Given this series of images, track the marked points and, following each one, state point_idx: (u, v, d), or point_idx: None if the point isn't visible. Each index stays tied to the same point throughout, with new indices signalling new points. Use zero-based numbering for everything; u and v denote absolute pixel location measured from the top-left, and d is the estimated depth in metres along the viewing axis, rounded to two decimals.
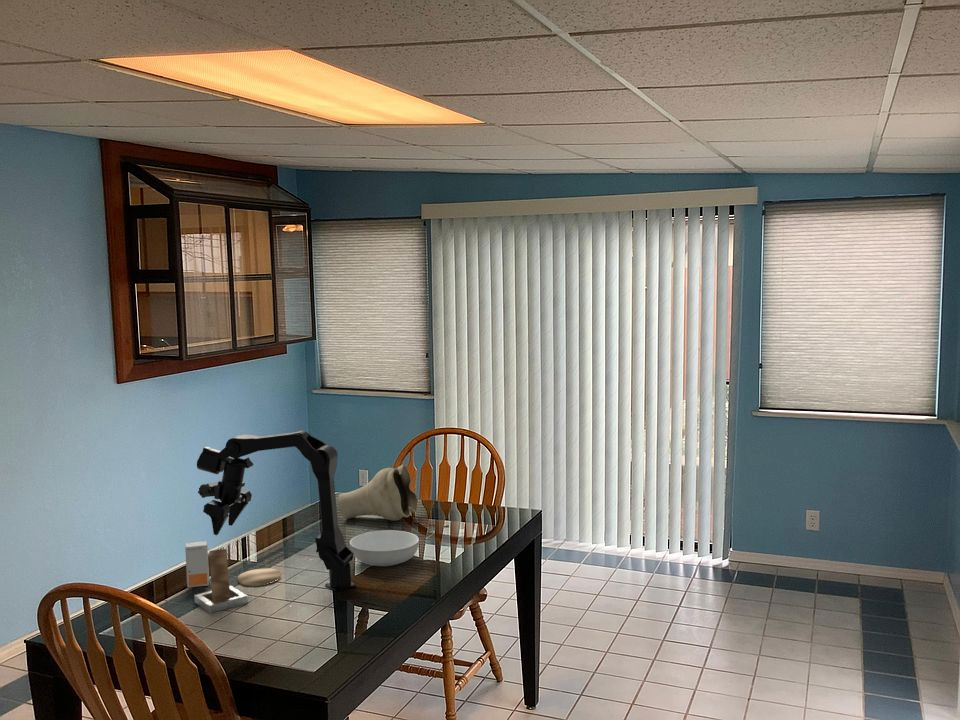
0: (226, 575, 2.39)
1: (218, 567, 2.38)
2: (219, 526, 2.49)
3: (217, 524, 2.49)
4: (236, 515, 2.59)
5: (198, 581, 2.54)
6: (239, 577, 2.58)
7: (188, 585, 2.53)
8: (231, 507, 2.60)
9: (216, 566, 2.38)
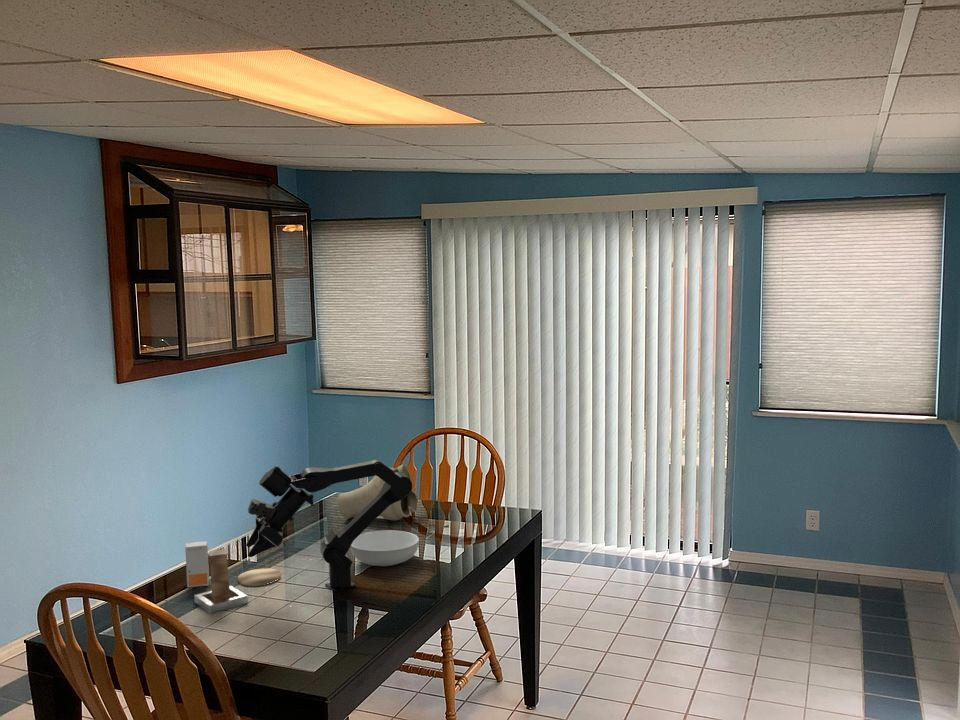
0: (226, 575, 2.39)
1: (218, 567, 2.38)
2: (260, 550, 2.38)
3: (260, 548, 2.37)
4: None
5: (198, 581, 2.54)
6: (239, 577, 2.58)
7: (188, 585, 2.53)
8: (258, 529, 2.47)
9: (216, 566, 2.38)
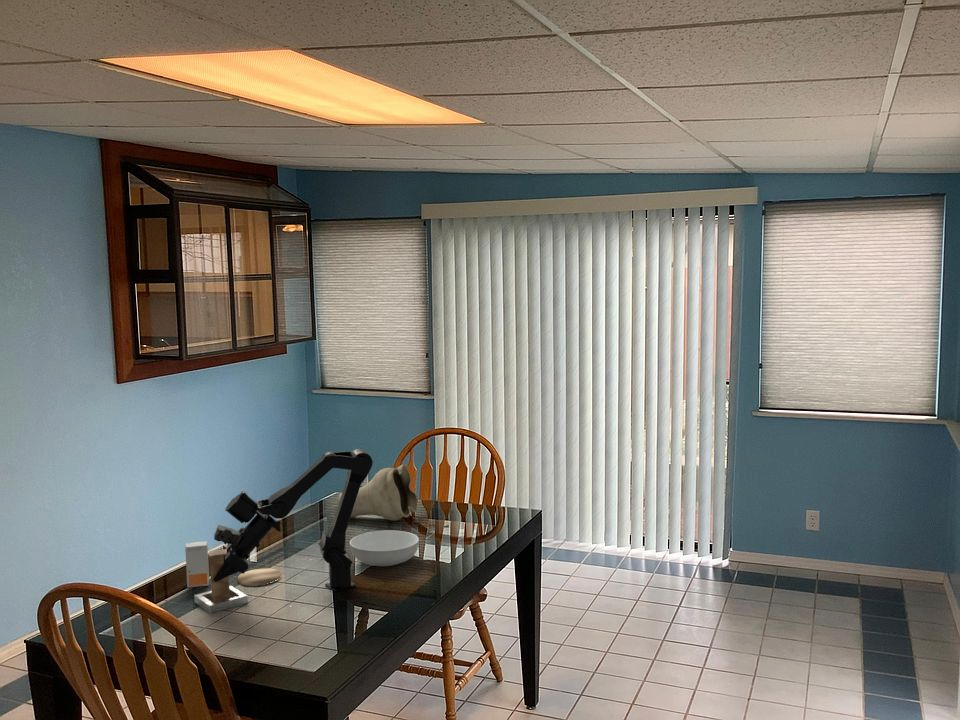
0: None
1: (218, 567, 2.38)
2: (226, 575, 2.38)
3: (225, 572, 2.37)
4: None
5: (198, 581, 2.54)
6: (239, 577, 2.58)
7: (188, 585, 2.53)
8: None
9: (216, 566, 2.38)
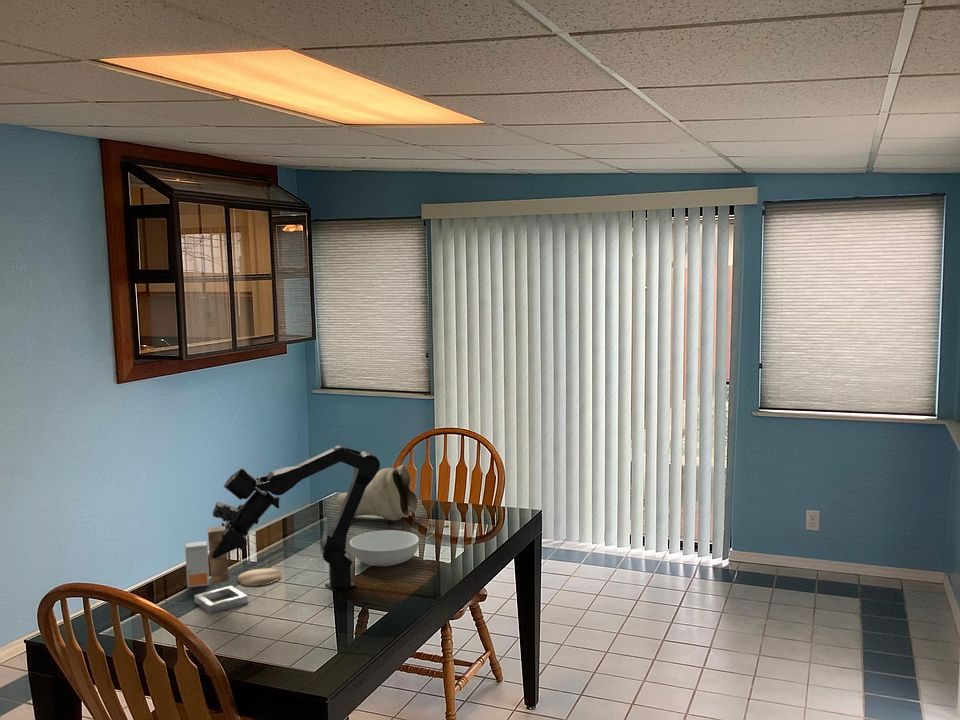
0: None
1: (217, 544, 2.38)
2: (224, 551, 2.37)
3: (224, 549, 2.37)
4: None
5: (198, 581, 2.54)
6: (239, 577, 2.58)
7: (188, 585, 2.53)
8: None
9: (215, 543, 2.37)
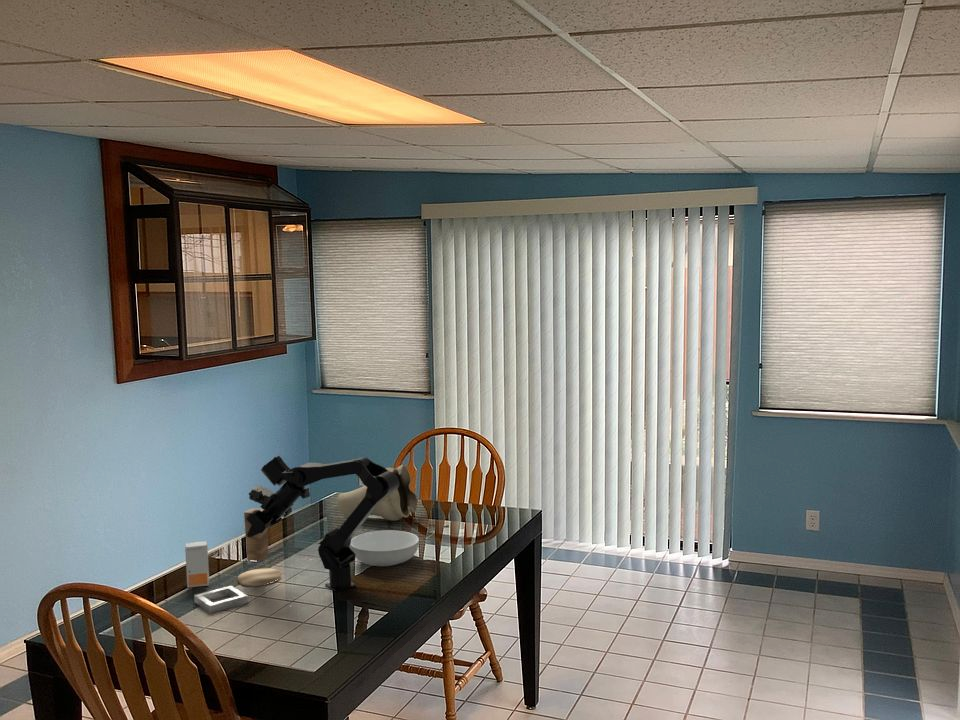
0: None
1: None
2: (256, 532, 2.54)
3: (255, 530, 2.53)
4: None
5: (198, 581, 2.54)
6: (239, 577, 2.58)
7: (188, 585, 2.53)
8: None
9: None
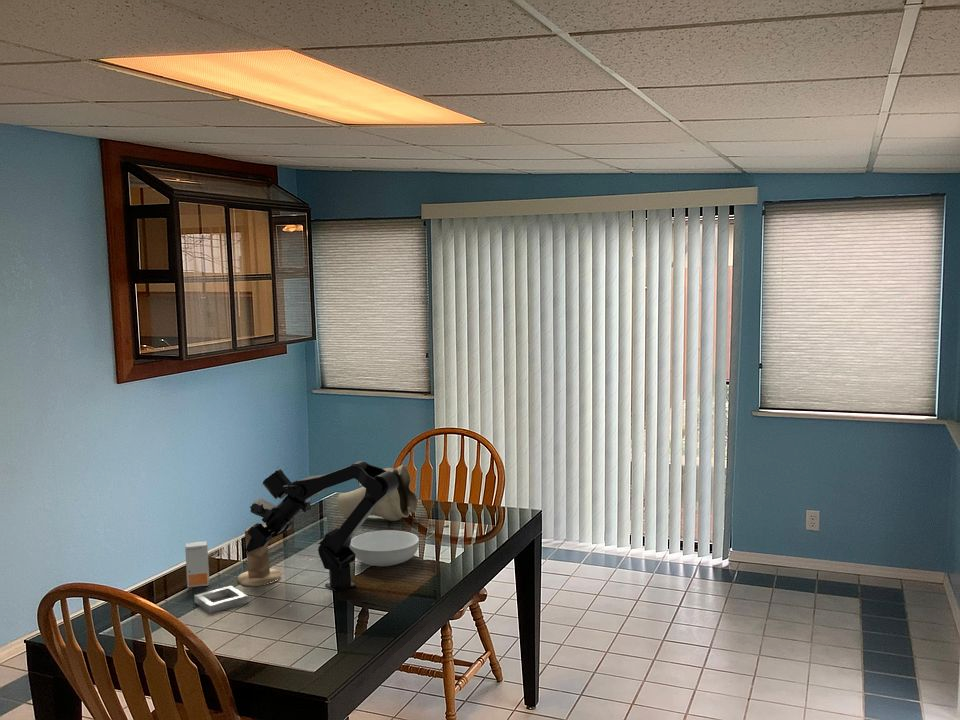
0: (259, 551, 2.55)
1: None
2: (254, 547, 2.52)
3: (253, 545, 2.52)
4: None
5: (198, 581, 2.54)
6: (239, 577, 2.58)
7: (188, 585, 2.53)
8: None
9: None
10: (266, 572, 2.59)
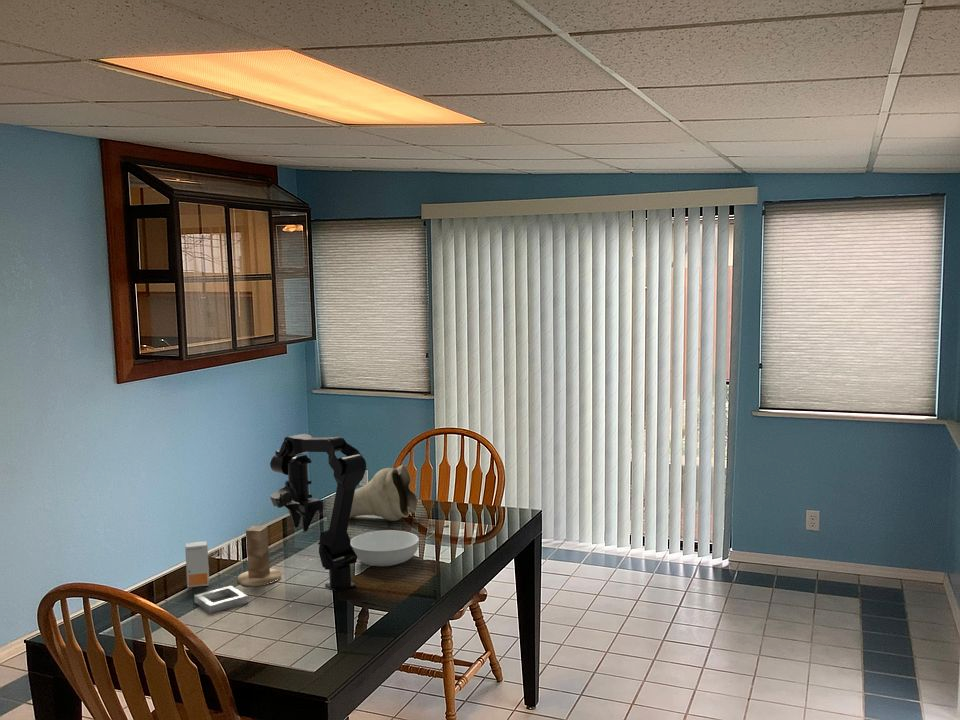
0: (259, 551, 2.56)
1: (253, 542, 2.56)
2: (310, 520, 2.60)
3: (308, 519, 2.59)
4: (299, 515, 2.65)
5: (198, 581, 2.54)
6: (239, 577, 2.58)
7: (188, 585, 2.53)
8: (292, 510, 2.63)
9: (251, 541, 2.56)
10: (266, 572, 2.59)
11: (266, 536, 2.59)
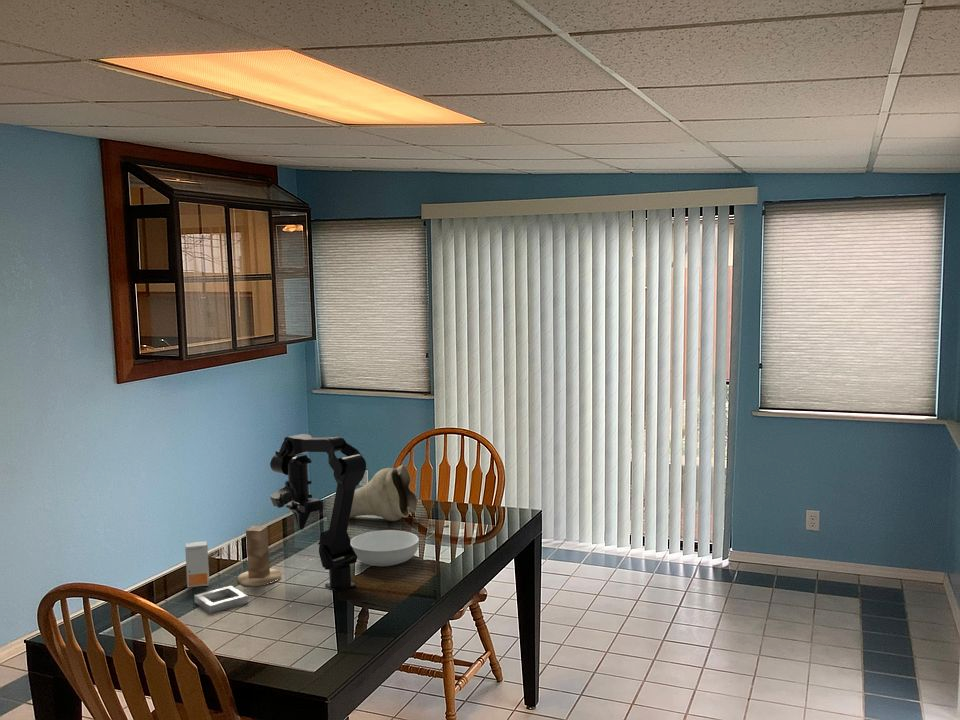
0: (259, 551, 2.56)
1: (253, 542, 2.56)
2: (306, 519, 2.62)
3: (304, 518, 2.61)
4: None
5: (198, 581, 2.54)
6: (239, 577, 2.58)
7: (188, 585, 2.53)
8: (296, 512, 2.62)
9: (251, 541, 2.56)
10: (266, 572, 2.59)
11: (266, 536, 2.59)
